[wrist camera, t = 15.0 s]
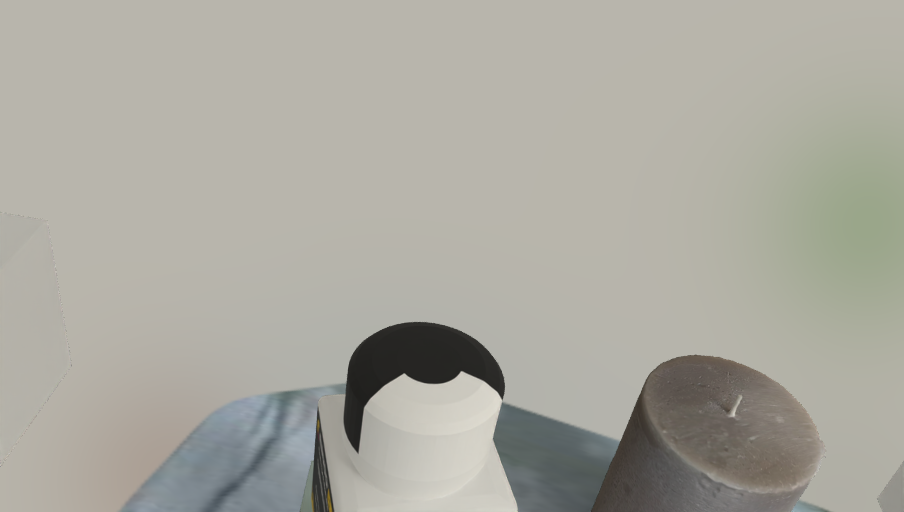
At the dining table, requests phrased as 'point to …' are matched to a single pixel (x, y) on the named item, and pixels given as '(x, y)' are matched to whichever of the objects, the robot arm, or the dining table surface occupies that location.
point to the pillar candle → (712, 443)
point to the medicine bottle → (413, 427)
